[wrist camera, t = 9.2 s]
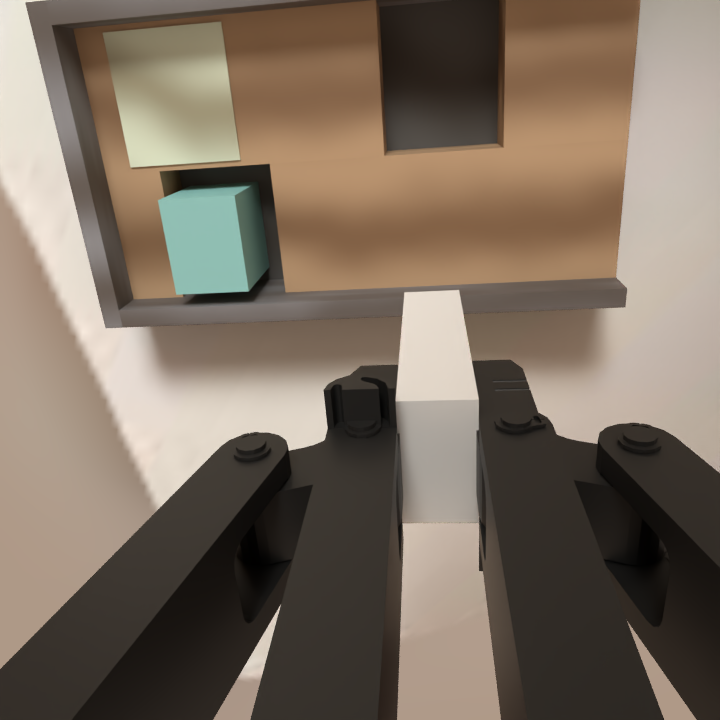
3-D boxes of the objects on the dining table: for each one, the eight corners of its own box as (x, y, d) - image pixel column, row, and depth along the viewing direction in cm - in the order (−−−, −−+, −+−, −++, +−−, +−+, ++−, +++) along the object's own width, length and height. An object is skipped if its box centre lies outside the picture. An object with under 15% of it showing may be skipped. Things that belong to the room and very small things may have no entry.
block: (258, 181, 36) (190, 185, 36) (234, 195, 31) (157, 200, 32) (269, 266, 38) (205, 269, 38) (248, 291, 33) (176, 294, 34)
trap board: (79, 14, 34) (25, 2, 29) (624, -40, 30) (660, -62, 26) (141, 300, 40) (105, 328, 35) (599, 279, 37) (625, 307, 32)
